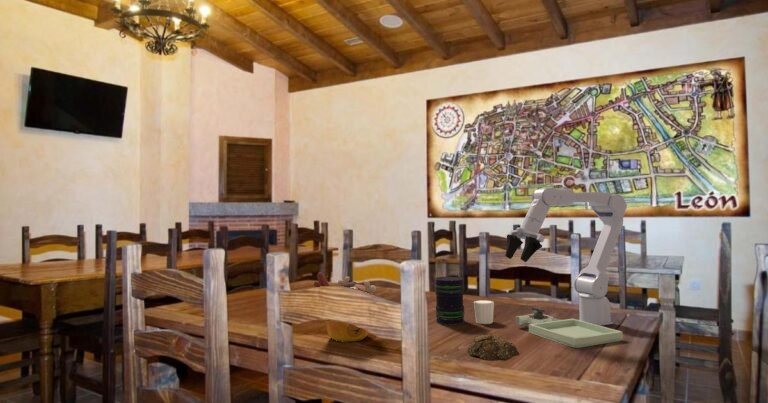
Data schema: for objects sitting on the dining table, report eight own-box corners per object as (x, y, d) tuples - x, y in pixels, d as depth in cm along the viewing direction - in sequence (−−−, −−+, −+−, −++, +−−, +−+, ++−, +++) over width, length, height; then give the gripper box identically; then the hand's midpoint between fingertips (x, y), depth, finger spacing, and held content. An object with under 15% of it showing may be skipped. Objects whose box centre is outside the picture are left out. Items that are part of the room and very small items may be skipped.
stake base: (547, 319, 165) (546, 303, 165) (570, 326, 155) (570, 308, 155) (516, 323, 160) (516, 306, 160) (539, 330, 150) (538, 312, 150)
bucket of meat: (384, 332, 151) (383, 269, 151) (370, 346, 135) (369, 276, 135) (326, 329, 156) (325, 268, 156) (305, 343, 140) (304, 275, 140)
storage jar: (463, 318, 169) (462, 276, 169) (465, 325, 159) (464, 280, 159) (435, 318, 170) (434, 276, 170) (435, 324, 160) (434, 280, 160)
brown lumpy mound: (481, 344, 136) (480, 327, 137) (522, 352, 129) (521, 333, 129) (458, 355, 127) (457, 336, 127) (501, 364, 119) (500, 344, 119)
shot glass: (494, 324, 159) (494, 303, 159) (474, 324, 160) (473, 303, 160) (494, 320, 165) (493, 300, 165) (474, 319, 167) (473, 299, 167)
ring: (539, 317, 162) (539, 310, 162) (558, 323, 154) (558, 315, 154) (508, 321, 157) (508, 314, 157) (526, 327, 149) (526, 319, 149)
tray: (573, 326, 155) (572, 318, 155) (622, 340, 137) (622, 331, 137) (528, 332, 148) (528, 324, 148) (575, 348, 130) (574, 339, 130)
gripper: (510, 214, 157) (492, 250, 155) (540, 216, 144) (521, 256, 142) (525, 224, 160) (507, 260, 157) (555, 227, 146) (537, 266, 144)
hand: (515, 259), depth 150 cm, fingers open, 7 cm apart
